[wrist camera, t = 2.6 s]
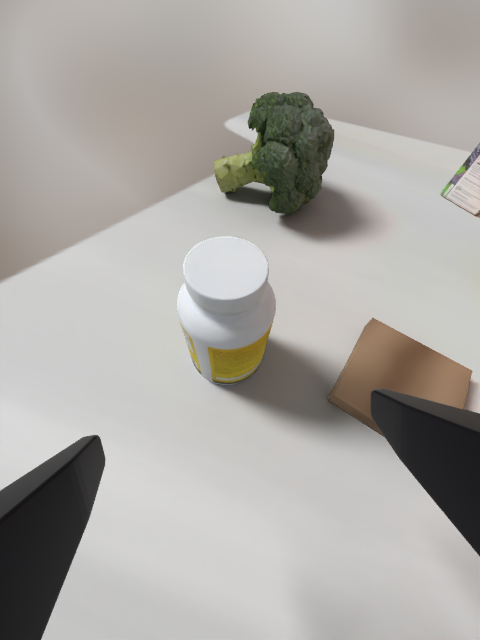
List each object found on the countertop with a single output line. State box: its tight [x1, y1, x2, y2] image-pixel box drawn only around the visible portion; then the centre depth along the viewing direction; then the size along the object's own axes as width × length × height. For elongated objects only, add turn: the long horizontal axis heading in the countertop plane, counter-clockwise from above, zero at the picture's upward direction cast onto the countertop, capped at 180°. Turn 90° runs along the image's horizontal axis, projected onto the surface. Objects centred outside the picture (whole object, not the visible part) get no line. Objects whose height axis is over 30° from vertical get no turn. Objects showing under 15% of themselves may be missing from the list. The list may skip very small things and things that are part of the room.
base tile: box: [328, 318, 472, 436], centre depth 22 cm, size 9×9×2 cm
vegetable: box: [214, 92, 334, 214], centre depth 32 cm, size 12×13×15 cm
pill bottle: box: [177, 236, 276, 385], centre depth 19 cm, size 6×6×12 cm
